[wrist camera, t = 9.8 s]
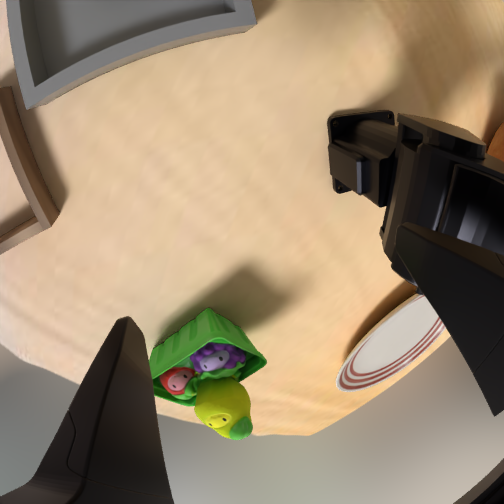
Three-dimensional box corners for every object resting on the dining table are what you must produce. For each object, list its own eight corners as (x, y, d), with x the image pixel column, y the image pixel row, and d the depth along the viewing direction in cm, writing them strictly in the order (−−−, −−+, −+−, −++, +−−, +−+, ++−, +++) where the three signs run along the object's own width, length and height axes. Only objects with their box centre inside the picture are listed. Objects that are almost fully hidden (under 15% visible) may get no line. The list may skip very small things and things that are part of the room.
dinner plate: (467, 286, 43) (477, 296, 40) (383, 376, 54) (390, 387, 51) (416, 244, 30) (433, 260, 27) (295, 381, 41) (302, 398, 38)
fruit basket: (208, 292, 25) (235, 404, 16) (263, 329, 30) (298, 419, 21) (135, 349, 27) (139, 445, 18) (193, 375, 32) (209, 456, 23)
